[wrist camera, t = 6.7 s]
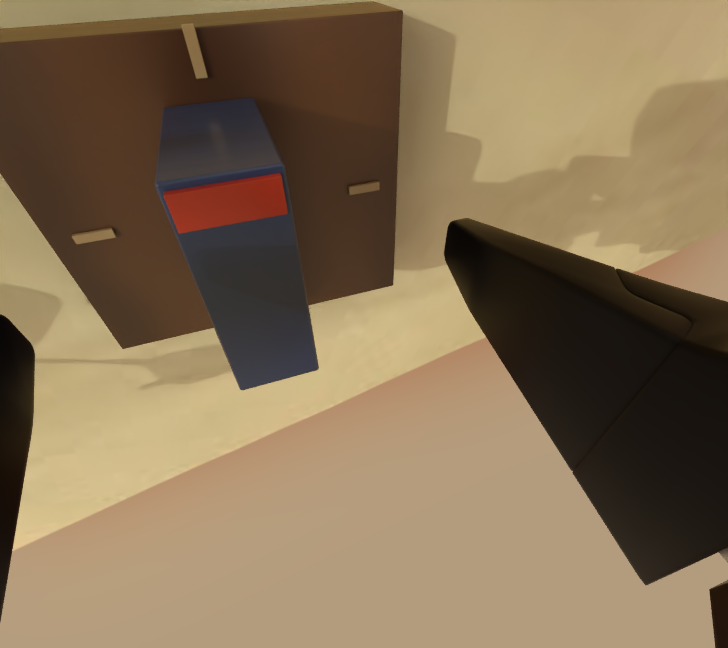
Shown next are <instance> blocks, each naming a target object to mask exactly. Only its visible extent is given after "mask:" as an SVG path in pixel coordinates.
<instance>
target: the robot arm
mask: <svg viewBox="0 0 728 648" xmlns="http://www.w3.org/2000/svg"><path fill="white" fill-rule="evenodd" d="M444 256H445V261H446V263H447V265H448V267H449V269H450V271H451V273H452V275H453V278H454V280H455V282H456V284H457V286H458V288H459V290H460V292H461V294H462V296H463V298H464V300H465V303H466V304H467V306H468V308H469V310H470V312H471V313H472V315H473V317H474V318H475V320H476V322H477V323H478V325H479V326H480V328H481V329H482V331H483V333H484V334H485V336H486V337H487V339H488V340H489V342H490V344H491V345H492V347H493V348H494V349H495V351H496V353H497V355H498V356H499V358H500V359H501V361H502V362H503V364H504V365H505V367H506V369H507V370H508V372H509V373H510V375H511V376H512V378H513V380H514V381H515V383H516V384H517V386H518V388H519V389H520V391H521V392H522V393H523V395H524V397H525V399H526V400H527V402H528V403H529V405H530V406H531V408H532V409H533V411H534V413H535V414H536V416H537V417H538V419H539V421H540V422H541V424H542V425H543V427H544V428H545V430H546V431H547V433H548V435H549V436H550V438H551V439H552V441H553V443H554V444H555V446H556V447H557V449H558V450H559V452H560V454H561V455H562V457H563V458H564V460H565V461H566V463H567V464H568V466H569V468H570V469H571V470H572V471H573V474H574V476H575V477H576V479H577V481H578V482H579V484H580V485H581V487H582V488H583V490H584V492H585V493H586V495H587V496H588V498H589V499H590V501H591V503H592V504H593V506H594V507H595V509H596V510H597V512H598V514H599V515H600V517H601V518H602V520H603V521H604V523H605V525H606V526H607V528H608V529H609V531H610V532H611V534H612V536H613V537H614V538H615V540H616V542H617V543H618V545H619V547H620V548H621V550H622V551H623V553H624V554H625V556H626V557H627V559H628V561H629V562H630V564H631V565H632V567H633V568H634V570H635V572H636V573H637V574H638V576H639V577H640V579H641V580H642V581H643V583H644V584H645V585H648V584H650V583H653V582H655V581H657V580H659V579H661V578H663V577H666V576H667V575H670V574H672V573H674V572H676V571H678V570H681V569H683V568H685V567H687V566H689V565H691V564H693V563H695V562H698V561H700V560H702V559H704V558H707V557H709V556H711V555H713V554H715V553H717V552H719V553H720V554H721V556H722V557H723V558H724V559H725V560H726V561H727V562H728V302H726V301H723V300H719V299H716V298H712V297H708V296H705V295H701V294H698V293H694V292H691V291H687V290H684V289H680V288H677V287H674V286H670V285H666V284H664V283H660V282H657V281H654V280H651V279H648V278H645V277H641V276H639V275H635V274H632V273H630V272H627V271H624V270H621V269H616V270H615V268H614V267H611V266H608V265H606V264H603V263H600V262H597V261H594V260H591V259H588V258H585V257H582V256H579V255H576V254H573V253H570V252H567V251H564V250H561V249H558V248H555V247H552V246H549V245H546V244H543V243H540V242H537V241H534V240H531V239H528V238H525V237H522V236H519V235H516V234H513V233H510V232H507V231H504V230H501V229H499V228H496V227H493V226H490V225H487V224H484V223H481V222H478V221H475V220H472V219H469V218H464V219H459V220H455V221H452V222H451V223H450V224H449V226H448V230H447V237H446V243H445V250H444ZM34 371H35V353H34V349H33V347H32V345H31V343H30V342H29V341H28V340H27V339H26V338H25V336H24V335H23V334H22V333H21V332H20V331H19V330H18V329H17V328H16V327H15V326H14V325H13V324H12V322H11V321H10V320H9V319H8V318H6V317H5V316H3V315H1V314H0V621H1V615H2V608H3V603H4V597H5V591H6V584H7V579H8V573H9V567H10V560H11V554H12V549H13V543H14V537H15V531H16V525H17V519H18V513H19V507H20V501H21V495H22V488H23V482H24V476H25V470H26V464H27V458H28V452H29V446H30V440H31V434H32V426H33V413H34ZM710 600H711V609H712V619H713V628H714V638H715V648H728V580H727V581H725V582H723V583H721V584H719V585H717V586H715V587H713V588H711V589H710Z"/></svg>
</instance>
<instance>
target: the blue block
mask: <svg viewBox="0 0 728 648" xmlns="http://www.w3.org/2000/svg"><path fill="white" fill-rule="evenodd" d="M155 188H156V190H157V193H158V195H159V197H160V200H161V202H162V205H163V207H164V209H165V212H166V214H167V217H168V219H169V221H170V224H171V226H172V228H173V231H174V233H175V236H176V238H177V240H178V243H179V245H180V247H181V250H182V252H183V255H184V257H185V259H186V262H187V264H188V266H189V269H190V271H191V274H192V276H193V278H194V281H195V283H196V286H197V288H198V290H199V293H200V295H201V297H202V300H203V302H204V305H205V307H206V309H207V312H208V314H209V316H210V319H211V321H212V324H213V326H214V328H215V331H216V333H217V336H218V338H219V340H220V343H221V345H222V347H223V350H224V352H225V355H226V357H227V359H228V362H229V364H230V366H231V369H232V371H233V374H234V376H235V378H236V381H237V383H238V385H239V388H240V389H241V390H245V389H249V388H253V387H256V386H260V385H264V384H267V383H271V382H275V381H279V380H282V379H286V378H290V377H293V376H297V375H301V374H304V373H308V372H312V371H315V370H318V368H319V366H318V360H317V354H316V348H315V342H314V336H313V331H312V325H311V319H310V313H309V307H308V301H307V295H306V289H305V283H304V277H303V271H302V265H301V259H300V253H299V247H298V242H297V236H296V230H295V224H294V218H293V212H292V206H291V200H290V194H289V188H288V182H287V176H286V170H285V165H284V163H283V161H282V159H281V156H280V154H279V152H278V150H277V148H276V146H275V143H274V141H273V139H272V137H271V135H270V132H269V130H268V128H267V126H266V124H265V122H264V119H263V117H262V115H261V113H260V111H259V109H258V106H257V104H256V102H255V100H254V98H252V97H250V98H242V99H233V100H225V101H217V102H208V103H200V104H191V105H183V106H174V107H166V108H163V114H162V123H161V132H160V141H159V150H158V159H157V168H156V177H155Z"/></svg>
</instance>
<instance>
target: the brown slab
mask: <svg viewBox="0 0 728 648" xmlns="http://www.w3.org/2000/svg"><path fill="white" fill-rule="evenodd" d="M402 19H403V11H402V10H399V9H395V8H392V7H389V6H386V5H383V4H380V3H376V2H359V3H345V4H332V5H318V6H305V7H291V8H278V9H264V10H251V11H237V12H224V13H210V14H197V15H183V16H170V17H156V18H142V19H129V20H115V21H102V22H88V23H75V24H61V25H48V26H34V27H21V28H7V29H0V173H1V175H2V176H3V178H4V179H5V181H6V182H7V184H8V185H9V186H10V188H11V189H12V191H13V192H14V194H15V195H16V196H17V198H18V199H19V201H20V202H21V204H22V205H23V207H24V208H25V209H26V211H27V212H28V214H29V215H30V217H31V218H32V219H33V221H34V222H35V224H36V225H37V227H38V228H39V230H40V231H41V232H42V234H43V235H44V237H45V238H46V240H47V241H48V242H49V244H50V245H51V247H52V248H53V250H54V251H55V253H56V254H57V255H58V257H59V258H60V260H61V261H62V263H63V264H64V265H65V267H66V268H67V270H68V271H69V273H70V274H71V276H72V277H73V278H74V280H75V281H76V283H77V284H78V286H79V287H80V288H81V290H82V291H83V293H84V294H85V296H86V297H87V298H88V300H89V301H90V303H91V304H92V306H93V307H94V309H95V310H96V311H97V313H98V314H99V316H100V317H101V319H102V320H103V321H104V323H105V324H106V326H107V327H108V329H109V330H110V332H111V333H112V334H113V336H114V337H115V339H116V340H117V342H118V343H119V344H120V346H121V347H122V349H125V348H129V347H133V346H138V345H142V344H146V343H150V342H155V341H159V340H163V339H167V338H172V337H176V336H180V335H184V334H189V333H193V332H197V331H201V330H206V329H210V328H214V326H213V324H212V321H211V319H210V316H209V314H208V312H207V309H206V307H205V305H204V302H203V300H202V297H201V295H200V293H199V290H198V288H197V286H196V283H195V281H194V278H193V276H192V274H191V271H190V269H189V266H188V264H187V262H186V259H185V257H184V255H183V252H182V250H181V247H180V245H179V243H178V240H177V238H176V236H175V233H174V231H173V228H172V226H171V224H170V221H169V219H168V217H167V214H166V212H165V209H164V207H163V205H162V202H161V200H160V197H159V195H158V193H157V190H156V188H155V177H156V168H157V159H158V150H159V141H160V132H161V123H162V114H163V108H166V107H174V106H183V105H191V104H200V103H208V102H217V101H225V100H233V99H242V98H250V97H252V98H254V100H255V102H256V104H257V106H258V109H259V111H260V113H261V115H262V117H263V119H264V122H265V124H266V126H267V128H268V130H269V132H270V135H271V137H272V139H273V141H274V143H275V146H276V148H277V150H278V152H279V154H280V156H281V159H282V161H283V163H284V165H285V170H286V176H287V182H288V188H289V194H290V200H291V206H292V212H293V218H294V224H295V230H296V236H297V242H298V247H299V253H300V259H301V265H302V271H303V277H304V283H305V289H306V295H307V301H308V305H312V304H316V303H320V302H324V301H329V300H333V299H337V298H341V297H346V296H350V295H354V294H358V293H362V292H367V291H371V290H375V289H379V288H384V287H388V286H392V285H393V277H394V248H395V219H396V191H397V162H398V133H399V105H400V76H401V47H402Z"/></svg>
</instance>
